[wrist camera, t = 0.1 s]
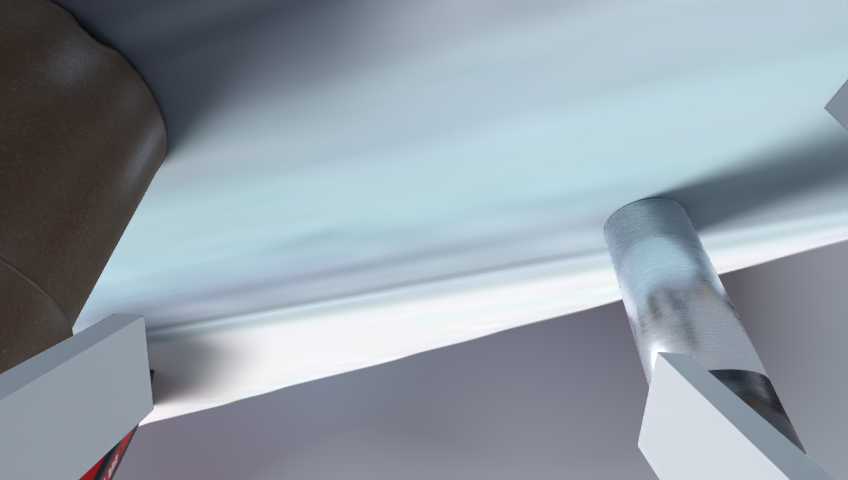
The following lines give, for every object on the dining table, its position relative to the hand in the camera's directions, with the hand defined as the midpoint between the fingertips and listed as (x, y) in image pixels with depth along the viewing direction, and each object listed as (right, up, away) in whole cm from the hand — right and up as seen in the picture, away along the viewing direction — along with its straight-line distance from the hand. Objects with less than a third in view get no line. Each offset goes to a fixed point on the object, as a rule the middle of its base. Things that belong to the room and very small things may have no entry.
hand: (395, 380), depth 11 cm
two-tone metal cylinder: (+15, +5, +17) cm, 23 cm away
